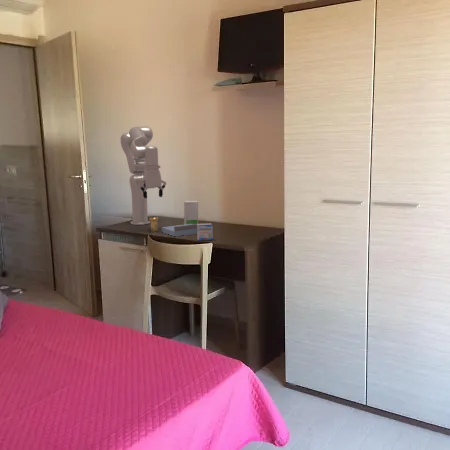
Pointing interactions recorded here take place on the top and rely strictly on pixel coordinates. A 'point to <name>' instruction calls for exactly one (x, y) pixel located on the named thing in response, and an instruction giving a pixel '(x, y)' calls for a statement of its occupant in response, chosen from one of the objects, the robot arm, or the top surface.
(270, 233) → the top surface
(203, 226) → the medicine box
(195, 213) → the skincare box
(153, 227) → the bushing
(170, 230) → the jig
